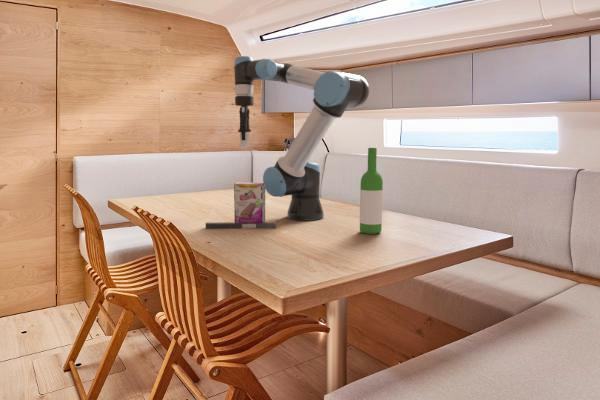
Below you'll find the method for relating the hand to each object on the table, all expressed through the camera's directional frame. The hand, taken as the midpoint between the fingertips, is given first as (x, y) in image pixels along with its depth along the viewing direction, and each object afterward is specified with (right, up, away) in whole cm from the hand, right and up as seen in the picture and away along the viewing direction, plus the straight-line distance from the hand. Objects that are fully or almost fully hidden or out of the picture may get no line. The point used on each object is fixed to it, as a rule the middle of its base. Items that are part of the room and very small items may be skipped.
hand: (245, 148), depth 194 cm
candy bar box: (+4, -32, -16) cm, 36 cm away
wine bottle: (+48, -33, -28) cm, 65 cm away
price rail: (+1, -32, -21) cm, 38 cm away
